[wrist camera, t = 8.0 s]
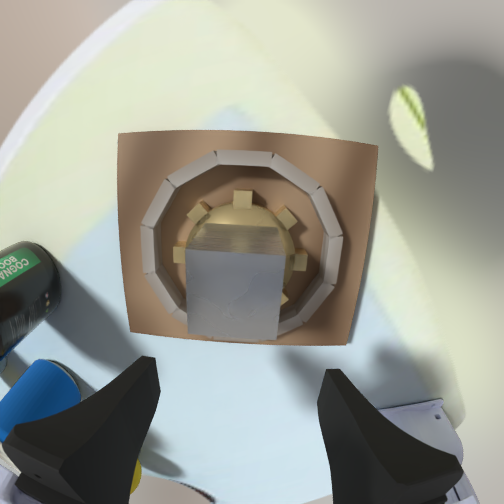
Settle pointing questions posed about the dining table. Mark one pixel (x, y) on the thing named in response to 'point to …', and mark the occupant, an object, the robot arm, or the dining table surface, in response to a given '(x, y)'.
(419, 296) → the dining table surface
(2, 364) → the green plant pot
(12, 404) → the beverage can
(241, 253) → the gear
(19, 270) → the supplement bottle
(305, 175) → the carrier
